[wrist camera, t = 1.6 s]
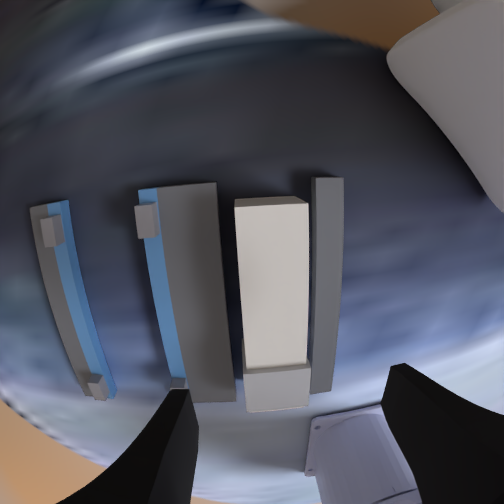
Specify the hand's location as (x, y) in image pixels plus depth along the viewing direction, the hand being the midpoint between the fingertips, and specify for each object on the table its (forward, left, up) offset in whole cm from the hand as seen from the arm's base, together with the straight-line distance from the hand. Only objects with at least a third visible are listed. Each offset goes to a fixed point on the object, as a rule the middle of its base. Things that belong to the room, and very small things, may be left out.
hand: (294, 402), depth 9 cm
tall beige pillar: (0, 0, -8) cm, 8 cm away
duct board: (0, +5, -8) cm, 10 cm away
